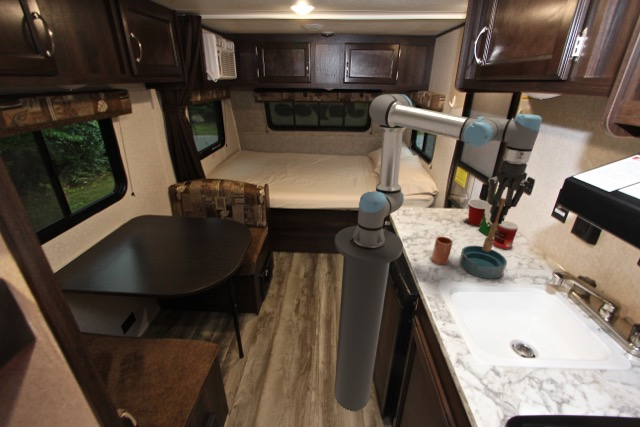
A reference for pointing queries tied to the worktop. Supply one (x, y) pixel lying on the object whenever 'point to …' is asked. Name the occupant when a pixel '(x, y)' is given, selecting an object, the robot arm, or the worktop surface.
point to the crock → (442, 250)
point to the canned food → (505, 235)
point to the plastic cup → (476, 211)
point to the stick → (493, 228)
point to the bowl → (482, 262)
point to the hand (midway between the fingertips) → (495, 221)
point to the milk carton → (487, 220)
